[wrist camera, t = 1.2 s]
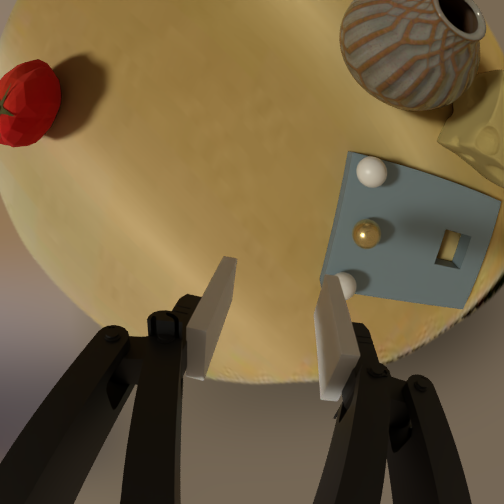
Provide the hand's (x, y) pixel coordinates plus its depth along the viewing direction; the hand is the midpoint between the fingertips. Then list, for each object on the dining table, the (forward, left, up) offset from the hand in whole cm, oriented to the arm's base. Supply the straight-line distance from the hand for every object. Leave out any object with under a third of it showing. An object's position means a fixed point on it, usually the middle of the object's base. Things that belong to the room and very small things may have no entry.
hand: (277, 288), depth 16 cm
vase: (-20, +9, -19) cm, 29 cm away
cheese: (-16, +23, -19) cm, 34 cm away
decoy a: (-6, +8, -15) cm, 18 cm away
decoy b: (+7, +8, -15) cm, 18 cm away
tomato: (-12, -37, -19) cm, 43 cm away
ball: (0, +9, -15) cm, 17 cm away
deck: (0, +17, -19) cm, 25 cm away
